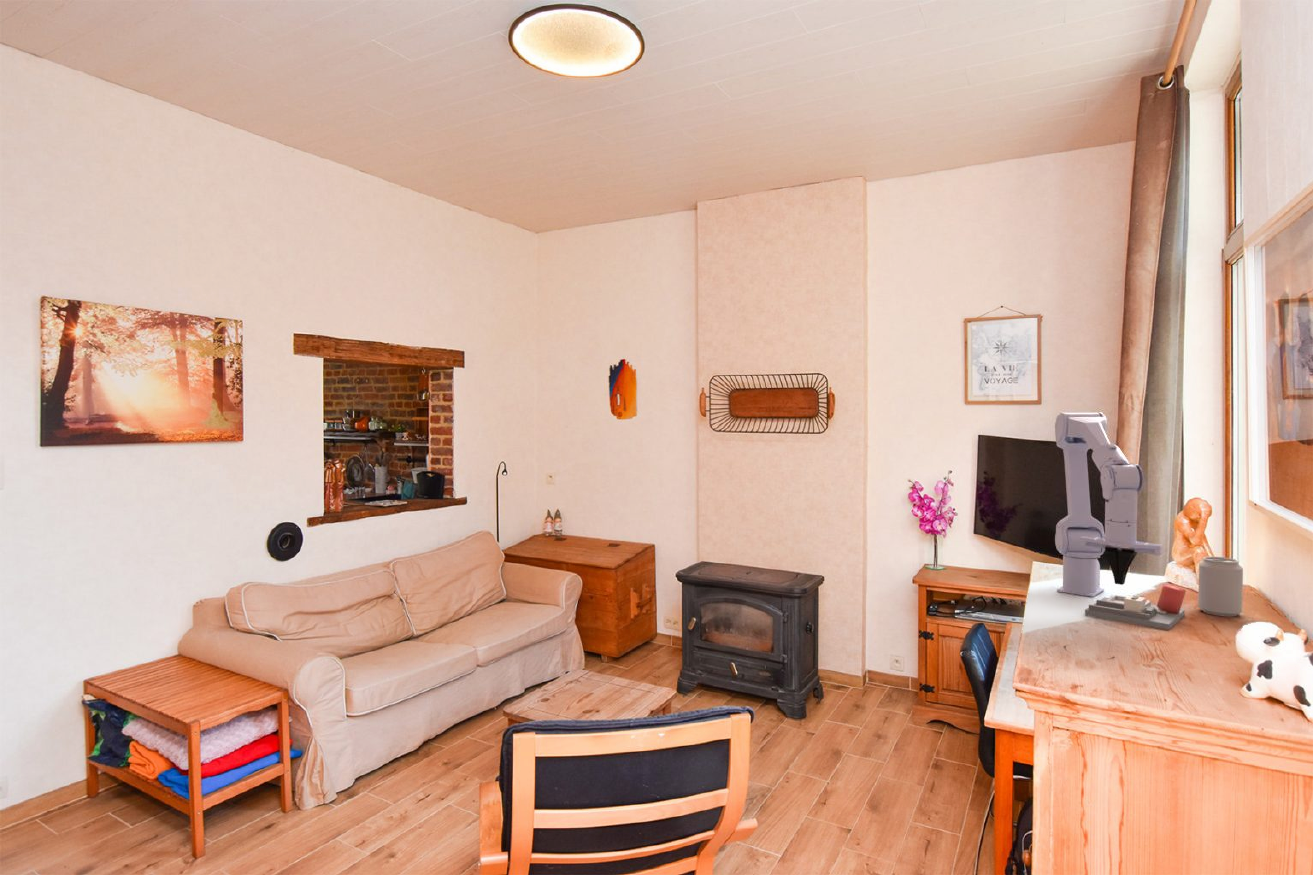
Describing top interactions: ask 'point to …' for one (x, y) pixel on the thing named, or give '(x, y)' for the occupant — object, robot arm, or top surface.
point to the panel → (1133, 613)
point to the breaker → (1135, 604)
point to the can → (1220, 586)
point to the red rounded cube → (1171, 598)
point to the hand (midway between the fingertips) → (1119, 583)
